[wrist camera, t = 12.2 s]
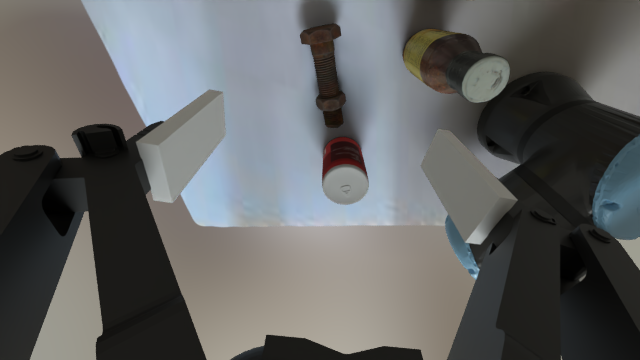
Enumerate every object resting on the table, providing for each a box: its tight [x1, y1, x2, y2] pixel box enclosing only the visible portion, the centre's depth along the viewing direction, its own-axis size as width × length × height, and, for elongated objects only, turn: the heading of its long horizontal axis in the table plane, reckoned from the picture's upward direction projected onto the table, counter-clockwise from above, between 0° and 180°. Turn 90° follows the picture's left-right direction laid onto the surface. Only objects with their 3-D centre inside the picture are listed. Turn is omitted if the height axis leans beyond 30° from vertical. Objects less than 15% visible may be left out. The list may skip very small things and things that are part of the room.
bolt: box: [300, 24, 346, 128], centre depth 39 cm, size 6×5×15 cm
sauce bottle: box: [403, 29, 510, 103], centre depth 30 cm, size 6×6×20 cm
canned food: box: [322, 137, 369, 205], centre depth 44 cm, size 8×8×11 cm
